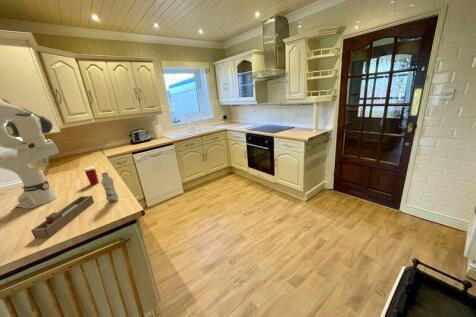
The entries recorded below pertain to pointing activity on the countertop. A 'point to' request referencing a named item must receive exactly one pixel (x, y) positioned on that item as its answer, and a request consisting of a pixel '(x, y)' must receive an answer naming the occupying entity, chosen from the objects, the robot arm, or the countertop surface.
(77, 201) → the long grey tray
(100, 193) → the countertop surface
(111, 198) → the plastic bottle
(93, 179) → the paper cup
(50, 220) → the block
